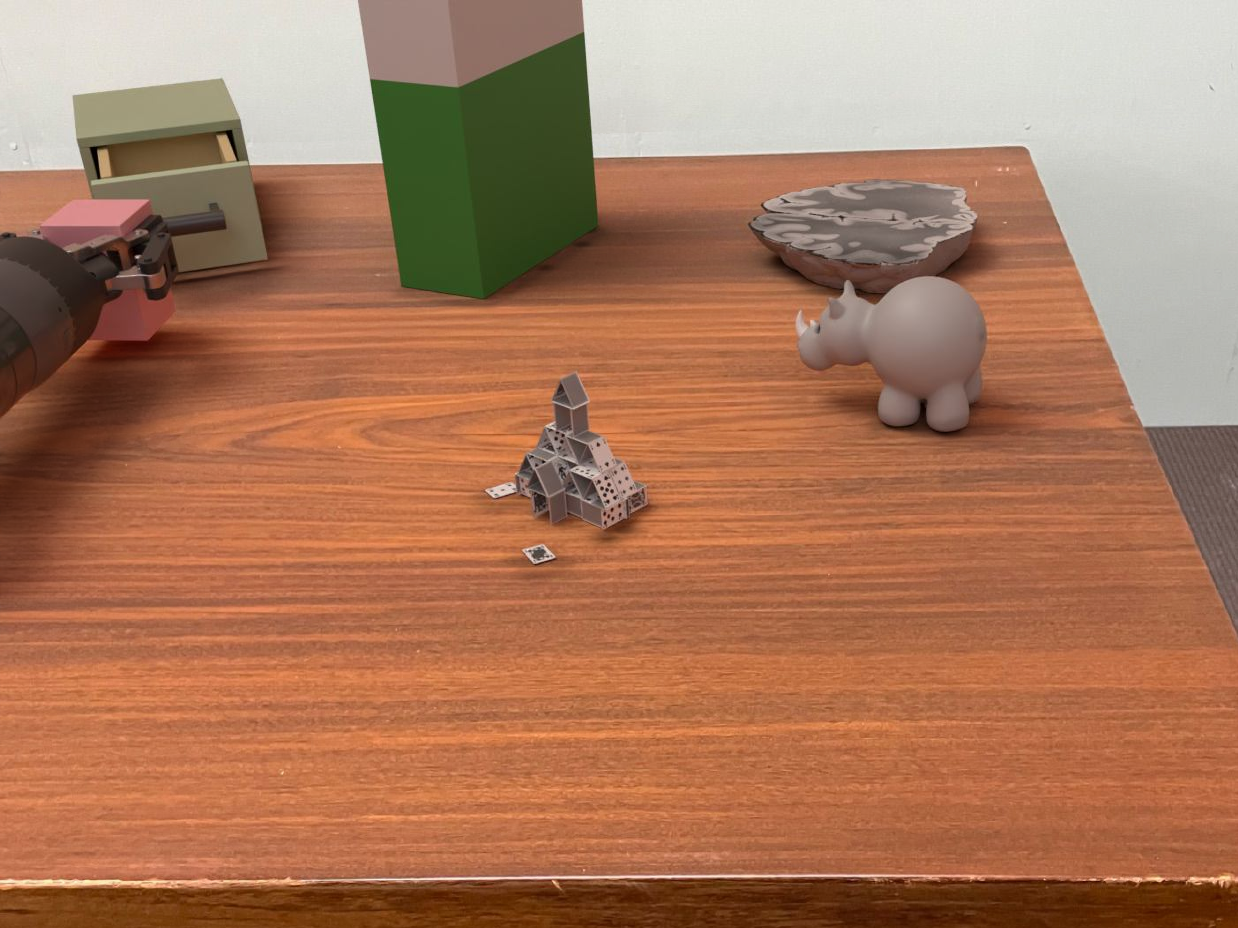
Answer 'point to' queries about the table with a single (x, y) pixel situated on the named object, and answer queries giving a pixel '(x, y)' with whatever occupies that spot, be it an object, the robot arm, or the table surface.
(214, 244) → the drawer
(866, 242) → the brain slice
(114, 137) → the cabinet
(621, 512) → the house of cards
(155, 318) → the block
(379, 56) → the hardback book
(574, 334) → the table surface
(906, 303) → the chubby cartoon animal
